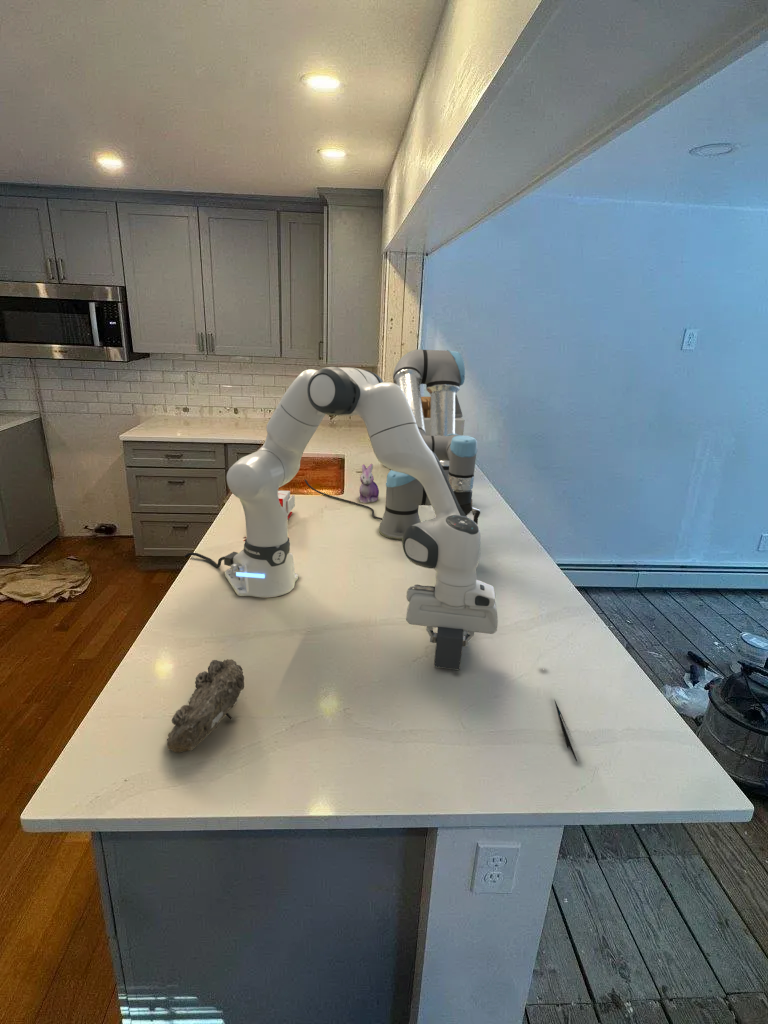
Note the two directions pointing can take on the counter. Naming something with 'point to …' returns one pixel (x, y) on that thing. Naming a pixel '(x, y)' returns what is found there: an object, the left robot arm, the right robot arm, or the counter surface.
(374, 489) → the figurine
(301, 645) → the counter surface
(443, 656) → the post
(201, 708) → the fossil
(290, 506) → the toy
